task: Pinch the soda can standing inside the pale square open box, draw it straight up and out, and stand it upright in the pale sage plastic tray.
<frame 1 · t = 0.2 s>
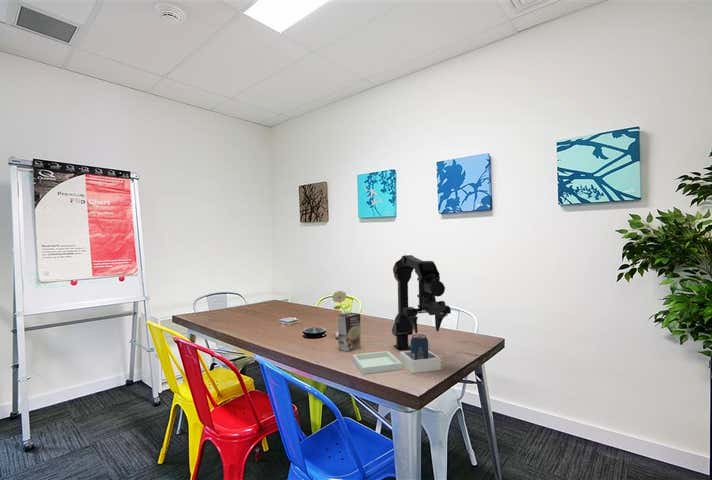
hand: (426, 332, 135), 14 cm above the table, tool pointing down, fingers open, 9 cm apart
pale square open box: (419, 366, 136), on the table
flower in vase: (344, 338, 180), on the table
tray: (376, 364, 139), on the table
coffee box: (349, 348, 162), on the table
soda can: (419, 366, 136), resting in pale square open box
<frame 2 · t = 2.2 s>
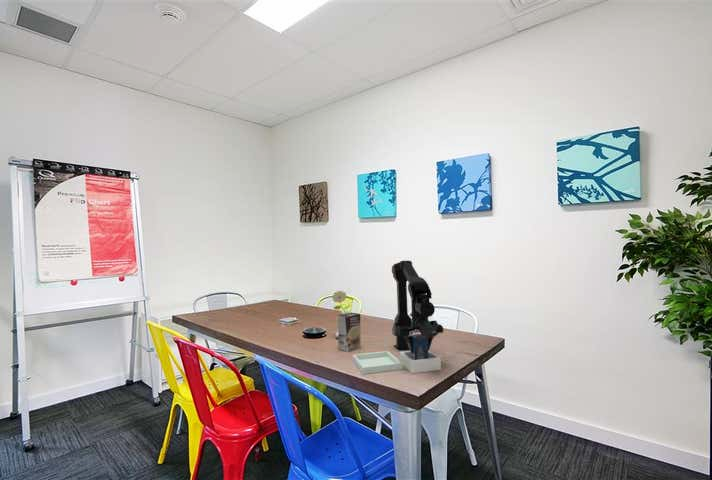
hand: (419, 351, 136), 6 cm above the table, tool pointing down, fingers closed on soda can, 7 cm apart
soda can: (420, 366, 136), resting in pale square open box, touching gripper
everything else where it was.
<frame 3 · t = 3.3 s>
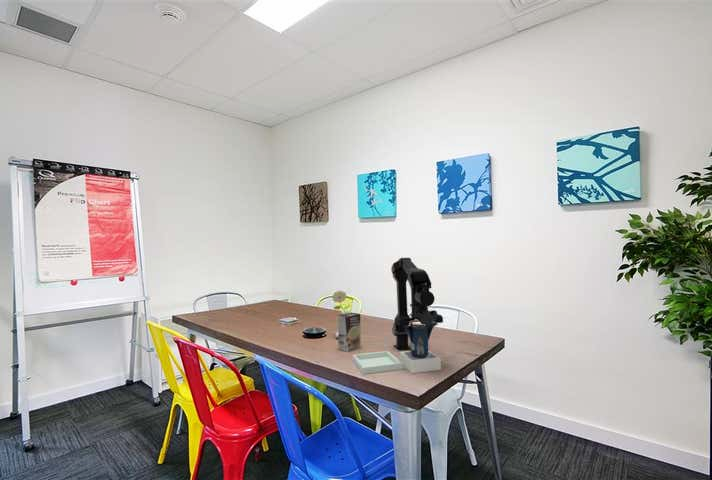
hand: (419, 341, 136), 10 cm above the table, tool pointing down, fingers closed on soda can, 7 cm apart
soda can: (419, 356, 136), point 4 cm above the table, touching gripper
everything else where it was.
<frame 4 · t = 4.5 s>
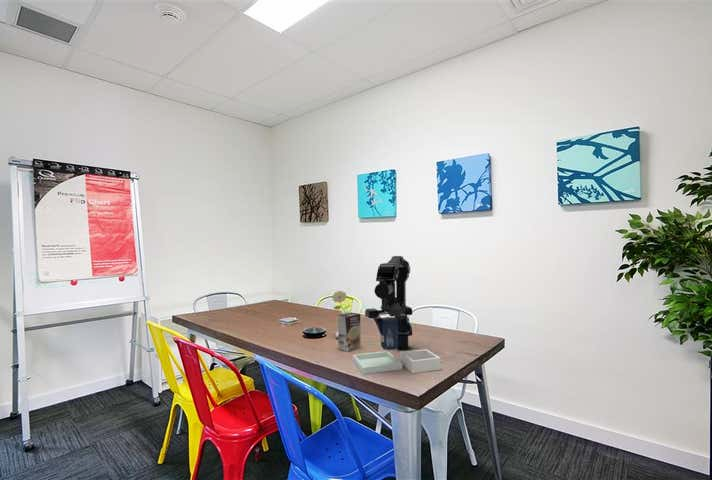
hand: (389, 333, 138), 13 cm above the table, tool pointing down, fingers closed on soda can, 7 cm apart
soda can: (389, 348, 138), point 7 cm above the table, touching gripper
everything else where it was.
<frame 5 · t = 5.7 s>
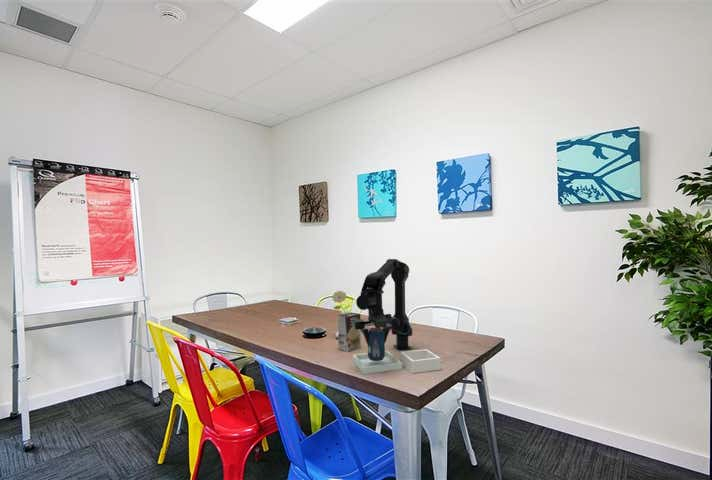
hand: (376, 343, 139), 8 cm above the table, tool pointing down, fingers closed on soda can, 7 cm apart
soda can: (376, 359, 139), point 2 cm above the table, touching gripper
everything else where it was.
when the fingers open (7 cm above the table, at t = 6.9 s): soda can stays where it is, resting on tray.
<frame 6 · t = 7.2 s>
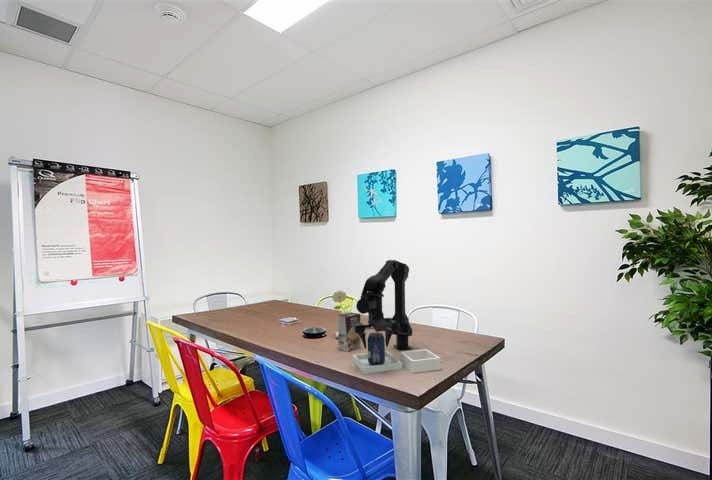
hand: (376, 347, 139), 7 cm above the table, tool pointing down, fingers open, 9 cm apart
soda can: (376, 364, 139), resting on tray
everything else where it was.
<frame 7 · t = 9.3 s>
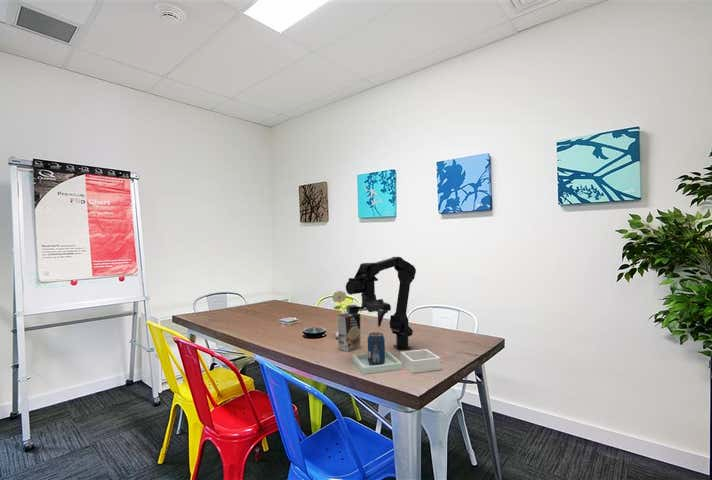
hand: (369, 327, 148), 13 cm above the table, tool pointing down, fingers open, 9 cm apart
nothing on the table moved.
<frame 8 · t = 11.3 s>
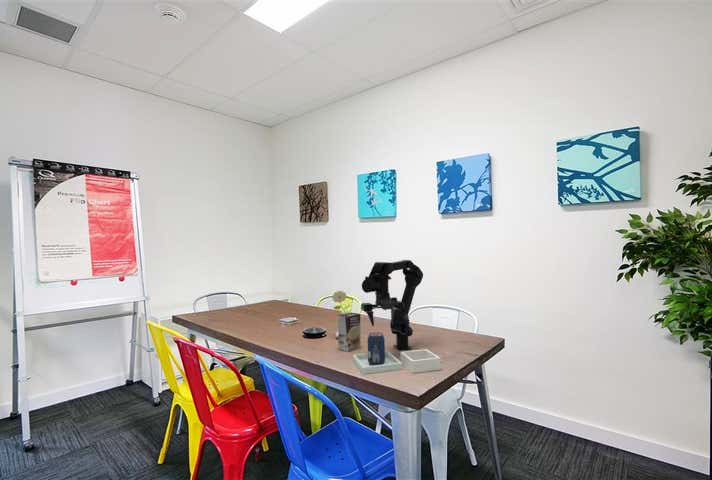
hand: (382, 325, 151), 13 cm above the table, tool pointing down, fingers open, 9 cm apart
nothing on the table moved.
at the end: soda can inside the target area on the tray (0.1 cm from its centre), point 0.2 cm above the tray's base; soda can tilted 0°; the gripper is holding nothing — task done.
